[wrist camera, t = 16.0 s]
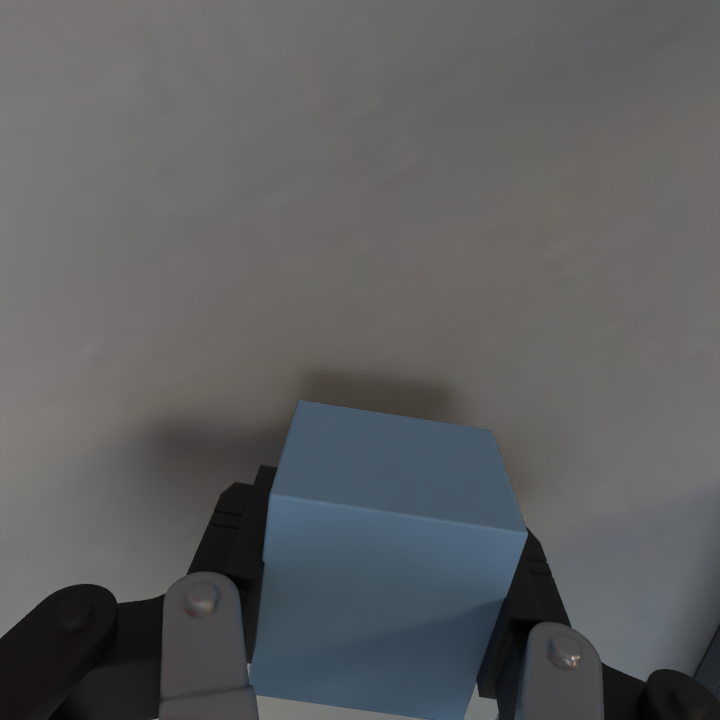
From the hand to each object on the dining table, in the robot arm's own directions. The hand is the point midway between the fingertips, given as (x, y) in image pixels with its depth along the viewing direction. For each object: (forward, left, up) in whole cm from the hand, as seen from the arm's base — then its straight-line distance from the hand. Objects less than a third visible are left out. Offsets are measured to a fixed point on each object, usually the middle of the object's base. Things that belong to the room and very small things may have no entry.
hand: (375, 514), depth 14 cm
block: (0, 0, 0) cm, 0 cm away
